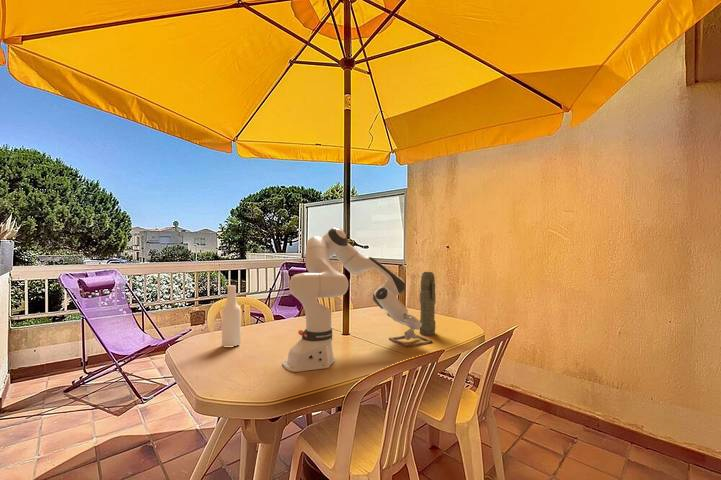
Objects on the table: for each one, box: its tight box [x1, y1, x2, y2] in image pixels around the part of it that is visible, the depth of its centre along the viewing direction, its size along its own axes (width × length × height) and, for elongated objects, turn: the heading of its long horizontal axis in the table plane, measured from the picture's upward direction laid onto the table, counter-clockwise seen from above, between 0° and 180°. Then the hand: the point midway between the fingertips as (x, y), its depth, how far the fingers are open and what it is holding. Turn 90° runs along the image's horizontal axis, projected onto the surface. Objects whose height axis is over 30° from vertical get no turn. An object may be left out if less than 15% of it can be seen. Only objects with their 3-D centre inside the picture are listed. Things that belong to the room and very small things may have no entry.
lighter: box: [403, 328, 421, 341], centre depth 182 cm, size 7×2×8 cm
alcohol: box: [221, 284, 242, 347], centre depth 171 cm, size 9×9×30 cm
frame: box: [388, 333, 433, 349], centre depth 181 cm, size 17×15×1 cm
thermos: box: [419, 271, 437, 336], centre depth 197 cm, size 9×12×35 cm
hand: (413, 328), depth 183 cm, fingers closed, pressing on lighter
